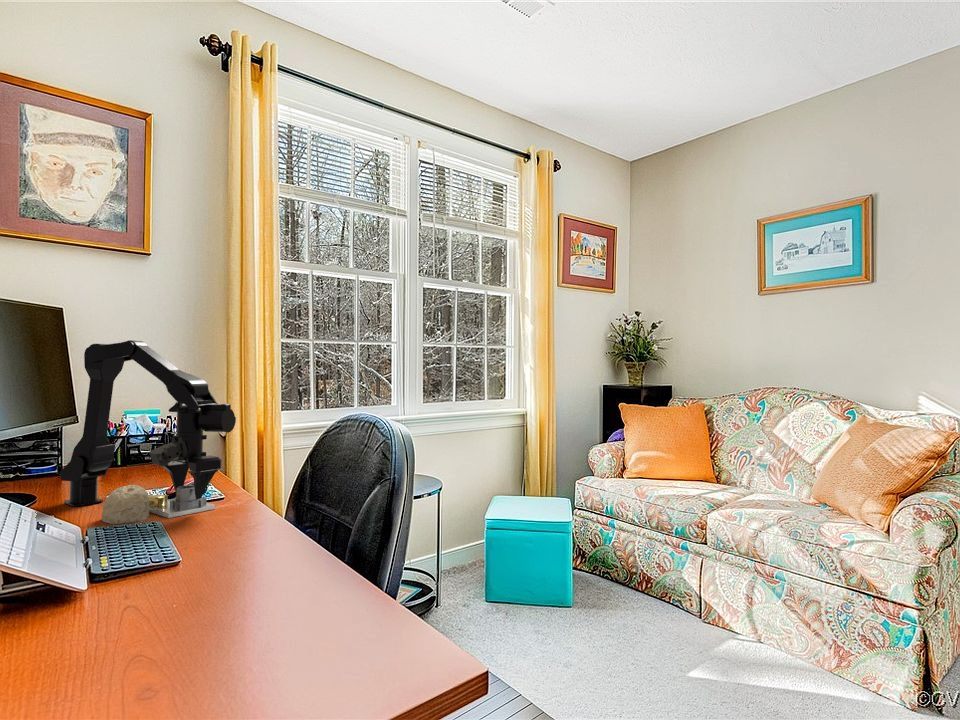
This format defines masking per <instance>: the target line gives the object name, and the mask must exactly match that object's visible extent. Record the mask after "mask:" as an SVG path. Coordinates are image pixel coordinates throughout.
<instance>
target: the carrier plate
mask: <svg viewBox="0 0 960 720" xmlns="http://www.w3.org/2000/svg"><path fill="white" fill-rule="evenodd" d="M148 497H149V513H153V514H156V515H158V516H161V517H164V518H167V519H172V518H177V517H181V516H187V515H191V514H196V513H201V512H205V511H207V512H208V511H211V510H215V509H216V505H215V504H213V503H210V502H207V501H206V504H204V506H203V507H196V508H192V509H178V510H177V509H175V508H170V500H171V499H169V498H168V497H169V495H168V494H148Z"/></svg>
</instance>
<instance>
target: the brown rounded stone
mask: <svg viewBox="0 0 960 720" xmlns="http://www.w3.org/2000/svg"><path fill="white" fill-rule="evenodd" d="M148 496H149V492H148V491H146V489H145V487H142V486H140V485H137V484H128V485H125V486H121V487H117V488H115V490H112V491H111V492H110V494H108V495H107V497H106V498H105V501H104V503H103V504H102V511H101V512H102V513H101V521H102V522H103V523H107V524H112V525H113V524H115V525H118V524H119V525H120V524H127V523H128V524H129V523H137V522H141V521H142V522H143V521H145V520H146V519H148V518H149V517H150V512H149V497H148Z"/></svg>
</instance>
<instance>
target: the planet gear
mask: <svg viewBox="0 0 960 720" xmlns="http://www.w3.org/2000/svg"><path fill="white" fill-rule="evenodd" d="M175 494H176V495H175V497H173V498H172V499H169V500H170V508H175V509H177V510H178V509H192V508H196V507H203V506H204V504H206V502H207V497H206V496H202V497H201V499H196V497H195V488H194V484H184V486H179V487H177V490H176V492H175Z"/></svg>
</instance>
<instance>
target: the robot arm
mask: <svg viewBox="0 0 960 720" xmlns="http://www.w3.org/2000/svg"><path fill="white" fill-rule="evenodd" d="M83 354H84V355H83V358H84V359H83V361H84V362H83V363H84V369H85V372H86V374H87V376H88V378H89V388H88V393H87V403H86V408H85V409H86V410H85V417H84V423H83V424H84V425H83V431H82V436H81V438H80V440H79V441H78V442H77V443H76V445H75V446H74V448H73V450H72V455H71V457H70V461H69V462H68V463H67V464H66V465H65V466H64V467H63V468H62V469H61V470H60V471H59V477H60V480H61V481H62V482H69V500H68V499H67V500H63V504H65V505H68V506H71V507H80V506H86V505H87V506H88V505H93V504H94V505H95V504H99V503H103V502H104V500H103V499H101V498H98V492H99V491H98V485H99V483H98V482H99V481H98V480H99V477H103V476H106V475H107V472H108V469H109V467H110V466H112V462H113V461H114V460H115V450H116V444H113V443H110V440H109V439H108V437H107V436H108V431H109V430H108V429H109V423H110V422H109V421H110V413H111V405H112V400H113V399H112V398H113V391H114V382H115V380H116V378H117V377H118V376H119V374H120V373H121V372H122V371H123V368H124V364H125V363H126V362H128V361H129V362H130V361H135V363H136V364H138V365H139V366H140V367H142V368H143V369H144V370H146V371H147V372H149V374H152V375H153V377H155V378H156V379H158V380H159V381H160V382H161V383H163V385H165V388H166V391H167V392H168V394H169V395H170V396H171V397H172V398H173V399H174V400H175V403H174V405H173V406H171V407H170V408H169V409H168V412H169V413H176V434H174V435H172V437H171V442H169V443H166V444H163V445H161V446H158V447H157V448H153V449H152V450H150V451H149V452H148V454H149V455H150V459H151V461H152V464H153V466H156V465H157V466H159V467H161V468H164V470H166V471H167V472H168V473H169V476H170V479H171V481H172V485H173V488H174V491H175V493H176V490H177V487H179V486H184V485H185V482H186V478H187V475H188V473H189V475H190V476H191V477H192V479H193V485H194V488H195V497H196V499H201V497H204V496H203V495H204V493H205V491H206V489H208V487H209V484H210V482H211V481H212V479H213V477H214V476H215V475H216V473H217V472H219V470H220V469H222V463H223V462H222V461H223V460H222V459H221V458H220V457H219V456H215V455H207V452H206V451H203V450H204V449H203V448H204V447H203V445H204V441H205V440H207V438H208V437H207V434H204V432H205V433H225V434H226V433H227V434H228V433H231V432H232V431H233V430H234V428H235V426H236V421H237V417H236V415H235V412H234V410H233V409H232V407H231V406H232V404H230V403H224V404H223V403H222V404H219V403H218V402H217V400H216V399H215V397H214V396H213V394H212V393H211V391H210V390H209V384H208V383H207V381H205V380H204V379H202V378H200V377H198V376H196V375H194V374H191V373H188V372H185V371H183V370H180V368H177V366H175V365H174V364H173V363H171V362H170V361H168V360H167V359H166V358H165V357H163V356H162V355H161V354H159V353H158V352H156V350H154V349H152V348H151V347H150V346H149V345H148V344H147V343H146V342H145V341H142V340H126V341H125V340H124V341H122V342H121V341H120V342H114V343H92V344H90V345H89V346H88V347H86V348H85V350H84V353H83Z"/></svg>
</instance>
